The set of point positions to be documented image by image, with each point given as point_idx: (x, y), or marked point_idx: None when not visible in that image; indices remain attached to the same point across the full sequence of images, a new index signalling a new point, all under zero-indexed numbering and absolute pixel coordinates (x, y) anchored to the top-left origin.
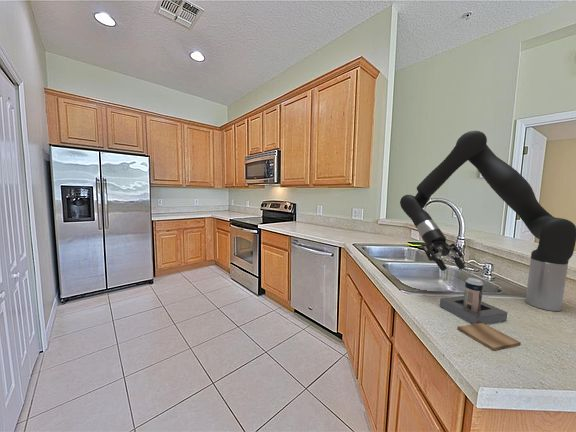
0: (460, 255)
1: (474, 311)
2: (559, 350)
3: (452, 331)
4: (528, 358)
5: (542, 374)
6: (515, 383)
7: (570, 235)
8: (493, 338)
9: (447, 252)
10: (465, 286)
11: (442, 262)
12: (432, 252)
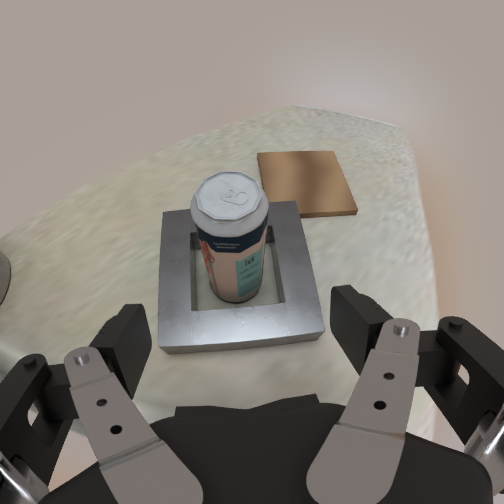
0: (47, 364)
1: (272, 226)
2: (195, 144)
3: (373, 209)
4: (284, 137)
5: (300, 119)
6: (354, 119)
7: None
8: (306, 167)
9: (206, 417)
10: (260, 238)
11: (366, 306)
12: (484, 352)
